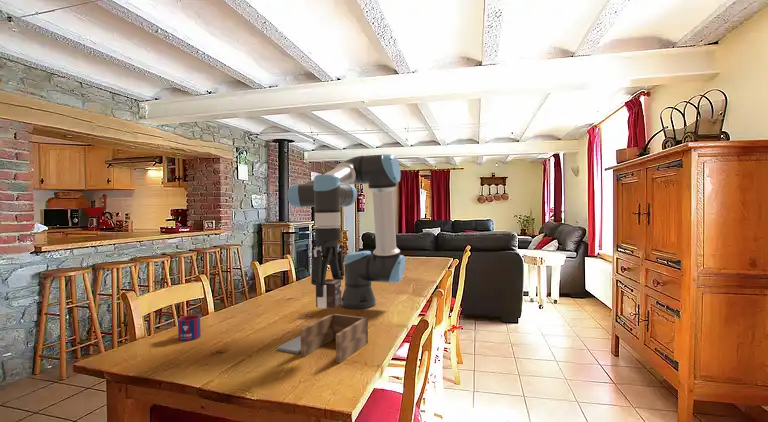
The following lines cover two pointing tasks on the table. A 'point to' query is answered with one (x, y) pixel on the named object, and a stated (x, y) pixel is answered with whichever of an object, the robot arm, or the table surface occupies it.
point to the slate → (292, 346)
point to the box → (332, 292)
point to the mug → (189, 328)
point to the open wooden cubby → (335, 335)
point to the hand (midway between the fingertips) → (329, 304)
